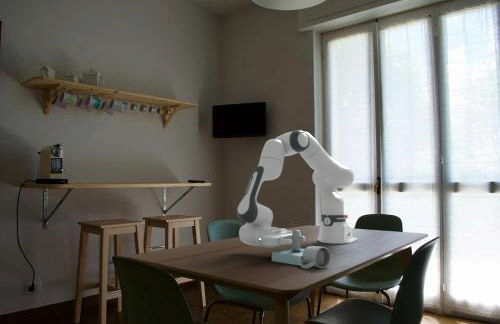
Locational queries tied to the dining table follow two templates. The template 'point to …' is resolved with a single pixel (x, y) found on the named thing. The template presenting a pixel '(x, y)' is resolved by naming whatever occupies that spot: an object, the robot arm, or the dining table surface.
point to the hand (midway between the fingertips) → (298, 240)
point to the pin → (296, 241)
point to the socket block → (288, 256)
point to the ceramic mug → (315, 257)
